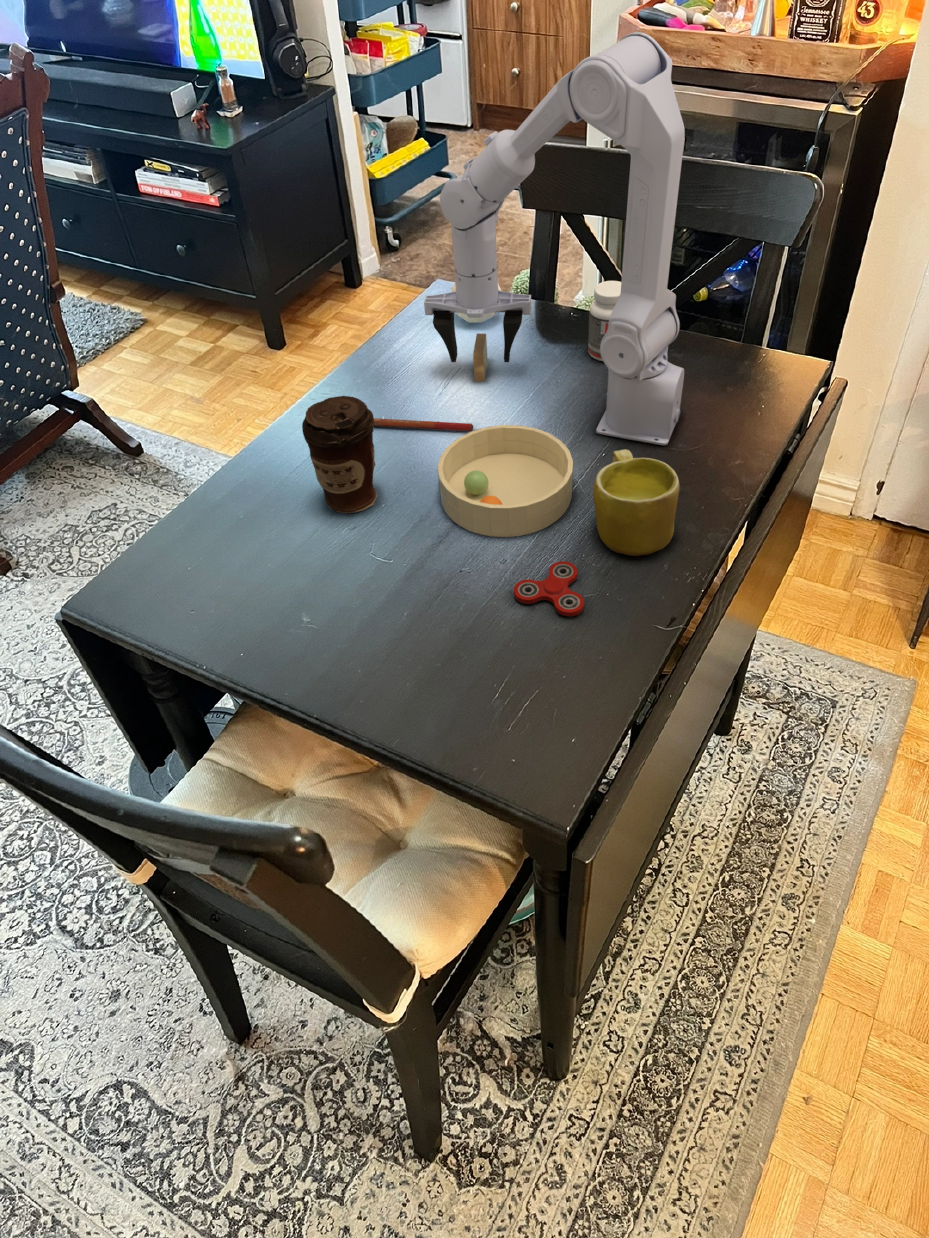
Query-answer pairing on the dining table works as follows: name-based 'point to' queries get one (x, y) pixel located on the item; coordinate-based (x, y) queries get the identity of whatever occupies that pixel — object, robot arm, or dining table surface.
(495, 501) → the orange bead
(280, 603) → the dining table surface
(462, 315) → the ball
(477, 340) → the brown block
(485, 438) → the bowl
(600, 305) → the pill bottle
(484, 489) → the green bead
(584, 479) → the dining table surface
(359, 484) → the coffee cup
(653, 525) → the mug
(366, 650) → the dining table surface
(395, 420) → the pencil
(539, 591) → the fidget spinner
